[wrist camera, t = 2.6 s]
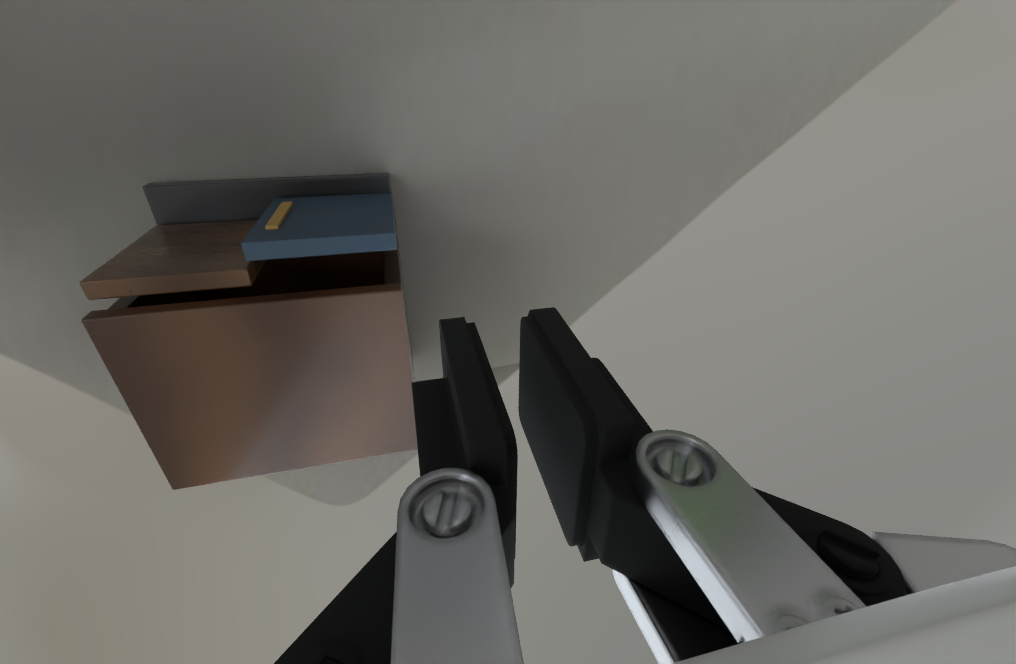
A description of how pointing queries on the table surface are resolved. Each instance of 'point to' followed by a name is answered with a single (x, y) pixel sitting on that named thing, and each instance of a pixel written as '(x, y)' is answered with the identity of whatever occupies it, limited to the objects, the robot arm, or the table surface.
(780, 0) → the table surface
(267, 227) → the sliding door
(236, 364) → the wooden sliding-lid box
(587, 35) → the table surface
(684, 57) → the table surface
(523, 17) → the table surface
